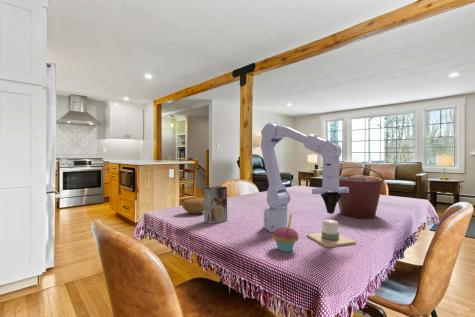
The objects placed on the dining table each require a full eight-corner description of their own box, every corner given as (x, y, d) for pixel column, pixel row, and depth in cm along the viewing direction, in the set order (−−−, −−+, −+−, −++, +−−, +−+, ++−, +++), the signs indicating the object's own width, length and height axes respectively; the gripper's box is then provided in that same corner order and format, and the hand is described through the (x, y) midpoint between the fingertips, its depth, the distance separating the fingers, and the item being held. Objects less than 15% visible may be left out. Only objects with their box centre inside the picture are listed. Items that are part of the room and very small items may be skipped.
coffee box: (219, 218, 121) (219, 185, 121) (227, 220, 116) (227, 186, 116) (203, 221, 116) (203, 187, 115) (211, 224, 111) (211, 188, 110)
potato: (181, 212, 133) (180, 197, 133) (206, 210, 138) (206, 196, 138) (183, 216, 124) (183, 200, 124) (210, 214, 129) (210, 199, 129)
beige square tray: (326, 247, 83) (326, 230, 83) (306, 236, 95) (306, 221, 95) (355, 243, 87) (356, 227, 87) (333, 233, 98) (333, 218, 98)
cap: (328, 235, 88) (328, 223, 88) (320, 230, 92) (320, 220, 92) (340, 233, 89) (340, 222, 89) (331, 229, 94) (331, 219, 94)
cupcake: (294, 244, 86) (294, 210, 86) (301, 254, 78) (301, 216, 78) (270, 244, 86) (270, 210, 86) (274, 254, 78) (274, 216, 77)
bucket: (324, 213, 130) (325, 166, 130) (343, 207, 145) (344, 164, 144) (375, 223, 112) (375, 168, 111) (391, 215, 127) (391, 166, 126)
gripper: (320, 177, 84) (320, 217, 85) (355, 176, 89) (354, 214, 89) (308, 175, 91) (308, 212, 91) (341, 174, 95) (341, 209, 96)
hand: (330, 213), depth 91 cm, fingers closed
